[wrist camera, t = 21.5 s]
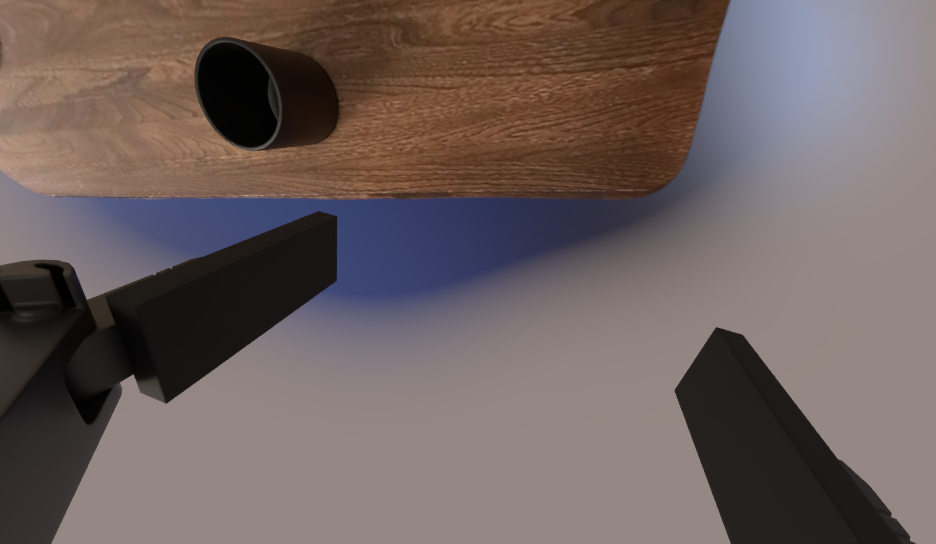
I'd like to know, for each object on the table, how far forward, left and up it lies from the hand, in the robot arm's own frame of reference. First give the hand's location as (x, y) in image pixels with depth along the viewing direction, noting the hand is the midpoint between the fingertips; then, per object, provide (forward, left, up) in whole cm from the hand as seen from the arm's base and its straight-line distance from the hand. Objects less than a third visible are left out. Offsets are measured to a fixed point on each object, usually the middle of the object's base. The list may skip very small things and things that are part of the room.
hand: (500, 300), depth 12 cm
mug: (+30, -2, -28) cm, 41 cm away
